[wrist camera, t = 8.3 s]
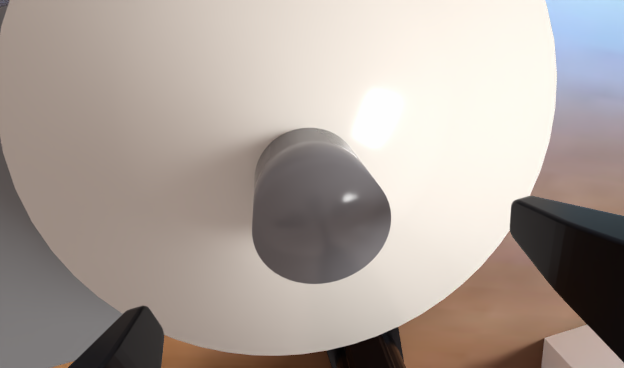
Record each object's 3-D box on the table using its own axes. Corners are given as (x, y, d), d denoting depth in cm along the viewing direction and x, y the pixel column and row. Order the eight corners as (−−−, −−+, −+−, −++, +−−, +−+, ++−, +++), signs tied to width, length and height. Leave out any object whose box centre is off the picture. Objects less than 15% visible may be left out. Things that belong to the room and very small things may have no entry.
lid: (522, 280, 18) (595, 350, 14) (171, 383, 17) (145, 484, 13) (572, -257, 9) (825, -490, 5) (-166, -68, 8) (-547, -156, 4)
